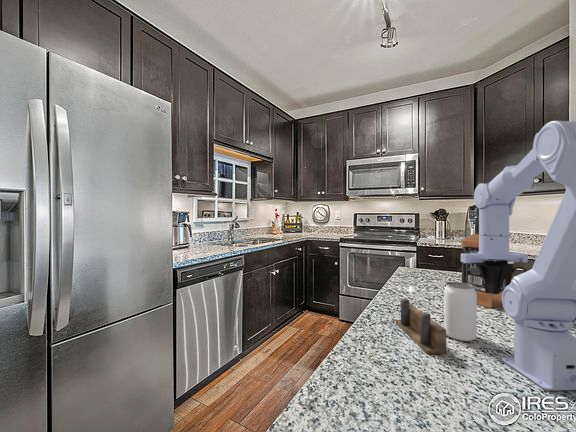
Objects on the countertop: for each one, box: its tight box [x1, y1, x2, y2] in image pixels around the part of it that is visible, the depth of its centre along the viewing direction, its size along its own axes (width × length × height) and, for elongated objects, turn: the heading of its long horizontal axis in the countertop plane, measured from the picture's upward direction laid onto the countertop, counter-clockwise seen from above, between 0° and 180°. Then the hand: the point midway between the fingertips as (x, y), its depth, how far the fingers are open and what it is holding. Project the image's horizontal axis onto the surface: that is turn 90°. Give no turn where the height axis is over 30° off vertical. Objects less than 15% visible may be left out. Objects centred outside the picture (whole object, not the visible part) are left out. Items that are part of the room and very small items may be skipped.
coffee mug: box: [506, 262, 528, 286], centre depth 103 cm, size 12×9×10 cm
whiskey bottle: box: [460, 207, 506, 309], centre depth 90 cm, size 10×10×32 cm
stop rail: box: [395, 298, 447, 355], centre depth 65 cm, size 16×4×7 cm, turn 1°
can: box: [443, 281, 478, 342], centre depth 66 cm, size 6×6×12 cm
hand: (493, 292), depth 66 cm, fingers closed
